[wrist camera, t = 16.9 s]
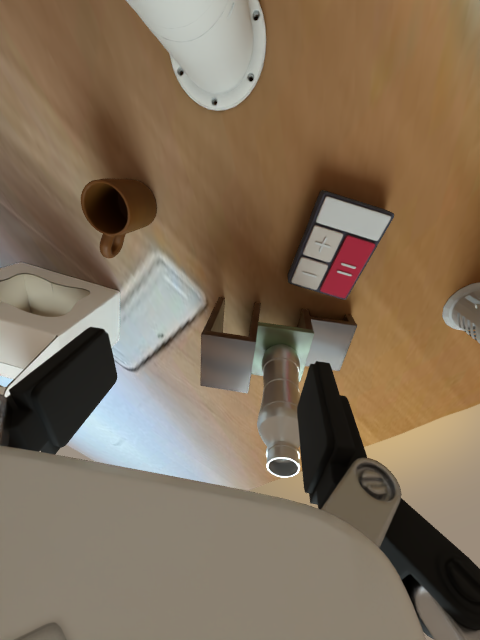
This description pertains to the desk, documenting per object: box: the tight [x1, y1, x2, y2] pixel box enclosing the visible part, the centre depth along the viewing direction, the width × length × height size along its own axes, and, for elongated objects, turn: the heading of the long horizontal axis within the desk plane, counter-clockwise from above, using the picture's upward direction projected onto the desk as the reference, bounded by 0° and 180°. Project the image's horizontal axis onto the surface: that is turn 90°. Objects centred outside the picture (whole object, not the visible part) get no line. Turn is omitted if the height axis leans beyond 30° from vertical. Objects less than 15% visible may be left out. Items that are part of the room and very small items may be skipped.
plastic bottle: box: [257, 344, 300, 477], centre depth 35 cm, size 6×7×20 cm
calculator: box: [288, 190, 394, 300], centre depth 41 cm, size 11×4×15 cm
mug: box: [81, 179, 157, 258], centre depth 40 cm, size 12×8×9 cm, turn 158°
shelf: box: [201, 297, 357, 393], centre depth 46 cm, size 11×26×14 cm, turn 85°
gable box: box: [0, 262, 120, 397], centre depth 43 cm, size 22×13×28 cm, turn 75°
